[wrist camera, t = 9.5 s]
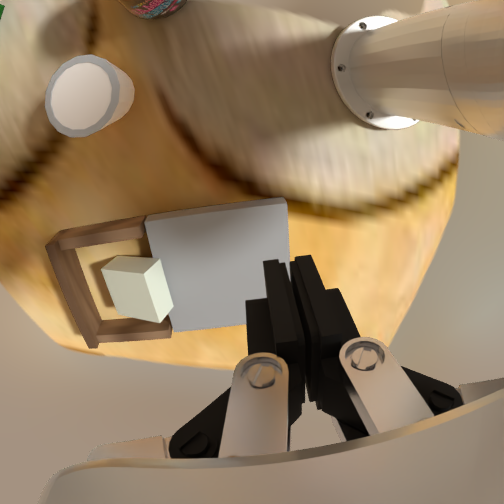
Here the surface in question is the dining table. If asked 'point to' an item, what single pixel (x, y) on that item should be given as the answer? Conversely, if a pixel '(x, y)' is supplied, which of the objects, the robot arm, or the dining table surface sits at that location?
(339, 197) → the dining table surface
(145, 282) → the off-white flat block
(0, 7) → the milk carton
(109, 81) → the white cup
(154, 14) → the supplement container
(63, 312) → the dining table surface
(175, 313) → the plate
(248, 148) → the dining table surface
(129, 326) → the box
